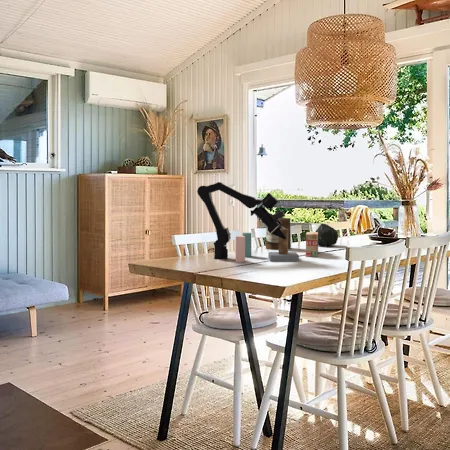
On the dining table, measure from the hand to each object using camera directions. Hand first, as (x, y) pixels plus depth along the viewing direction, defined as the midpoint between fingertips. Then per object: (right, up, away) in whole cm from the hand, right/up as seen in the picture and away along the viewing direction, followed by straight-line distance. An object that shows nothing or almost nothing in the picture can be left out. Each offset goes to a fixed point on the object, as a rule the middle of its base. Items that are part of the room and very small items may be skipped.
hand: (286, 237), depth 277 cm
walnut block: (-1, -8, +1) cm, 8 cm away
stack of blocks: (+17, -10, +22) cm, 29 cm away
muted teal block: (-19, -10, +14) cm, 26 cm away
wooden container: (+1, -8, +51) cm, 51 cm away
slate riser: (-1, -11, +1) cm, 11 cm away
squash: (+32, -7, +64) cm, 72 cm away
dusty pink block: (-23, -12, -6) cm, 27 cm away
